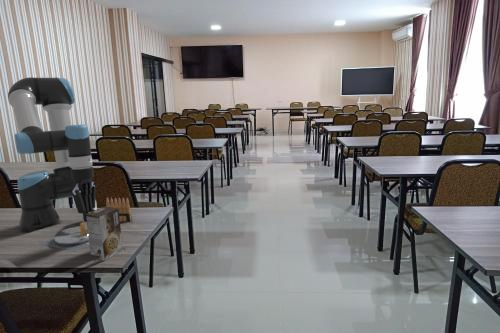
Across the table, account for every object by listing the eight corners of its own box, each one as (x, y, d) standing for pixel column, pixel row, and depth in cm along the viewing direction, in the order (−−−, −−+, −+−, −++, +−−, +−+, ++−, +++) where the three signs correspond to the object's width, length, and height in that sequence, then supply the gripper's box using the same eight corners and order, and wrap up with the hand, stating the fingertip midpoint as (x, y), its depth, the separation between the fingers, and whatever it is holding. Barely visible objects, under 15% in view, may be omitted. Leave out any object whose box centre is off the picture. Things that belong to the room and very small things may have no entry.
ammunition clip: (132, 223, 150) (130, 196, 147) (130, 224, 148) (128, 198, 146) (109, 223, 151) (106, 196, 148) (107, 224, 149) (104, 198, 146)
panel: (39, 248, 127) (38, 243, 126) (77, 231, 142) (76, 227, 142) (75, 255, 120) (74, 250, 120) (111, 236, 135) (110, 232, 135)
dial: (47, 246, 123) (45, 230, 122) (65, 231, 137) (63, 217, 136) (87, 244, 124) (85, 229, 123) (101, 230, 138) (99, 215, 137)
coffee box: (109, 247, 126) (105, 205, 122) (123, 250, 123) (119, 207, 120) (90, 258, 117) (84, 213, 114) (104, 261, 115) (99, 216, 112)
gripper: (80, 170, 118) (88, 235, 122) (100, 164, 130) (107, 223, 134) (60, 170, 119) (69, 235, 123) (82, 164, 131) (90, 223, 135)
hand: (89, 229), depth 129 cm, fingers closed
